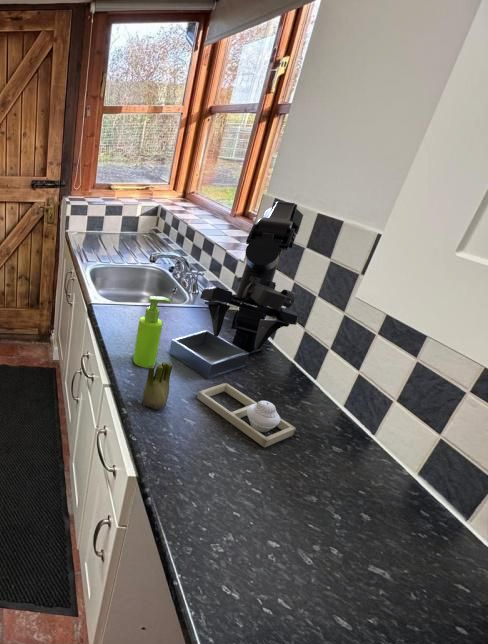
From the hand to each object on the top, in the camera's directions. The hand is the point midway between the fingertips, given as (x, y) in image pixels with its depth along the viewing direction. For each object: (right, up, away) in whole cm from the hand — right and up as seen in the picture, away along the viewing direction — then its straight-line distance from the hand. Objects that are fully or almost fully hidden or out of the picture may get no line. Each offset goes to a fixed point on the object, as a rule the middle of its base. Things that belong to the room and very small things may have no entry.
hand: (236, 342), depth 89 cm
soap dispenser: (-10, -8, +25) cm, 28 cm away
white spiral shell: (+6, -19, +1) cm, 20 cm away
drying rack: (+4, -17, +4) cm, 18 cm away
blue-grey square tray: (+7, -8, +25) cm, 27 cm away
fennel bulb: (-15, -16, +8) cm, 24 cm away
